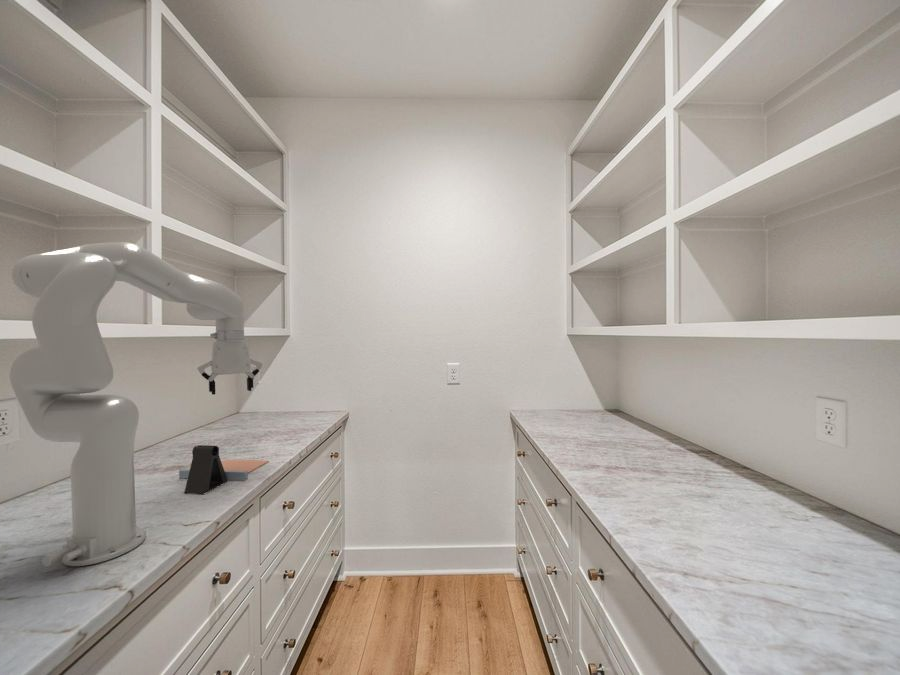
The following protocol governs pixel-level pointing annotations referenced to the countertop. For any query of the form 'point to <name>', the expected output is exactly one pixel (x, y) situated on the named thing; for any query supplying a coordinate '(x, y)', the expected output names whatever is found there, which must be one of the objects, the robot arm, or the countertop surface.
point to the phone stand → (205, 470)
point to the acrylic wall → (229, 474)
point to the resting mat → (242, 465)
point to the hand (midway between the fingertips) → (231, 392)
